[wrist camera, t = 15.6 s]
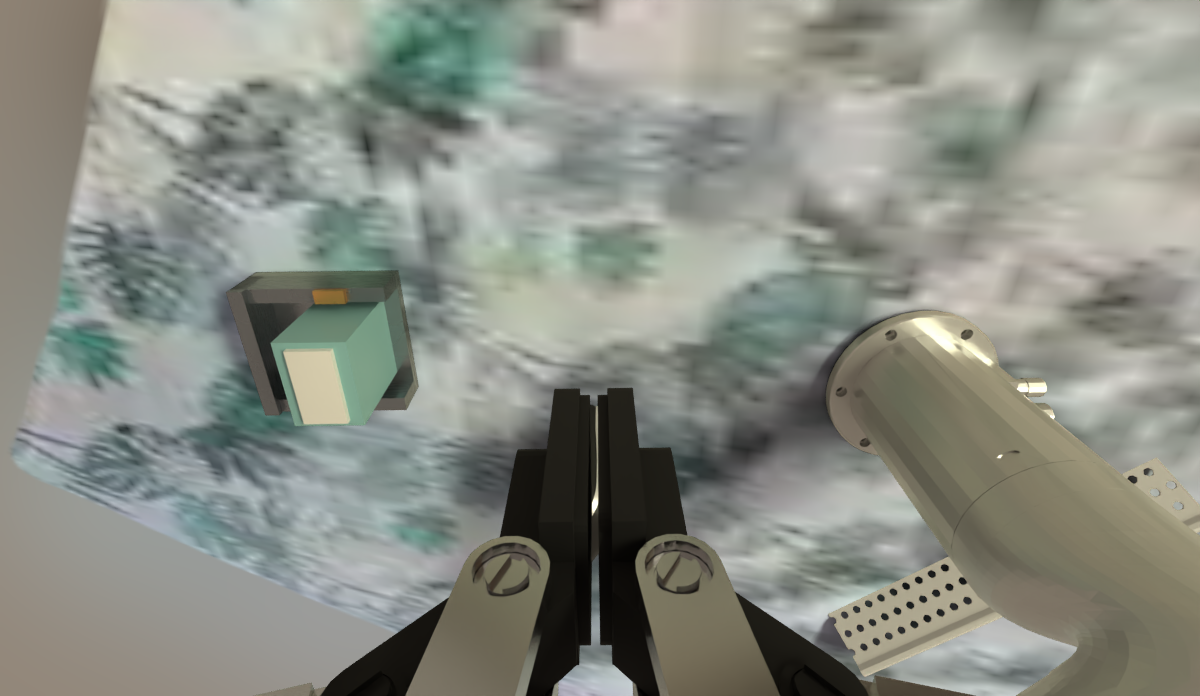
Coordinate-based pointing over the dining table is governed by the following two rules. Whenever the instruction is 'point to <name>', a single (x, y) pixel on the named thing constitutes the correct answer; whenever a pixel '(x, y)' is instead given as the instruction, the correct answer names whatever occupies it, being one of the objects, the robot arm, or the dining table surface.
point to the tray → (287, 295)
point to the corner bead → (959, 594)
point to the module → (335, 363)
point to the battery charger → (594, 478)
